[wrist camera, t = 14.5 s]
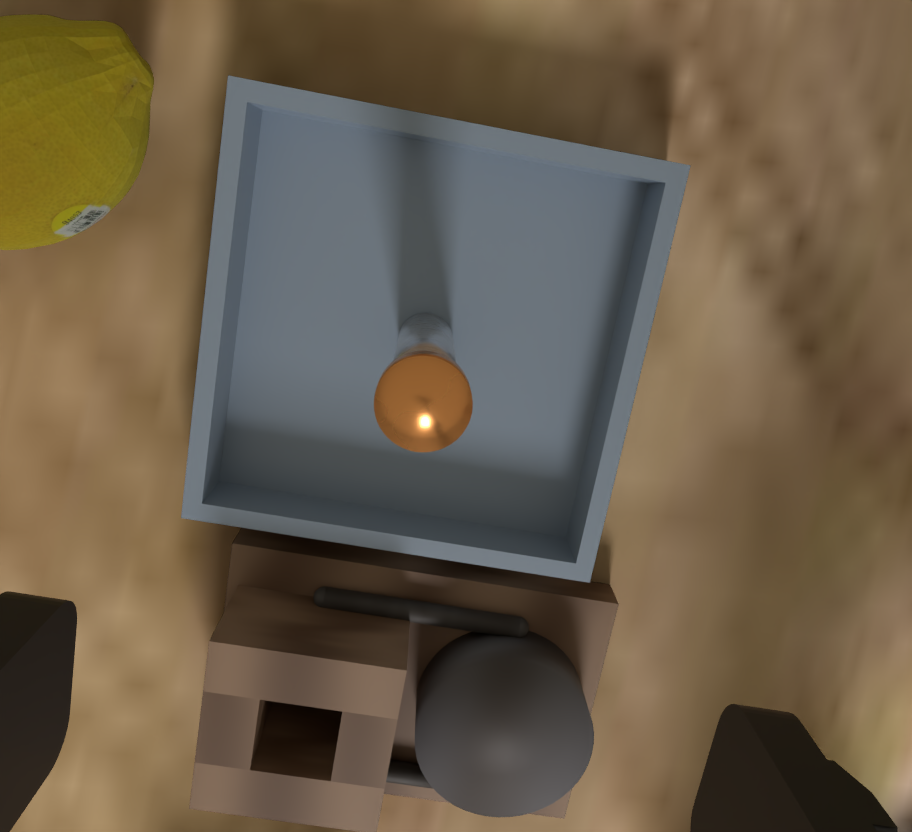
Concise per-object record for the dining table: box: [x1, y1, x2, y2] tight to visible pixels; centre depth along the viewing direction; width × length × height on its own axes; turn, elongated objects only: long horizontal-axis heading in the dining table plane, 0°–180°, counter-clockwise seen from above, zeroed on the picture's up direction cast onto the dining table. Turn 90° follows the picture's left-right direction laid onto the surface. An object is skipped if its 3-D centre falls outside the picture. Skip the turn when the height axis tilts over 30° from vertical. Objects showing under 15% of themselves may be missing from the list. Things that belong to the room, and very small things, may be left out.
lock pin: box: [374, 313, 473, 452], centre depth 31 cm, size 3×3×12 cm
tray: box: [181, 76, 690, 583], centre depth 35 cm, size 18×18×4 cm
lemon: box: [0, 14, 154, 250], centre depth 31 cm, size 11×8×8 cm
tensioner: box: [189, 528, 619, 832], centre depth 38 cm, size 18×12×7 cm, turn 80°
